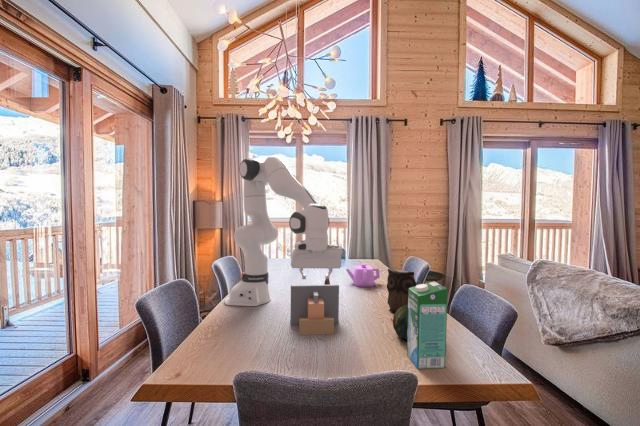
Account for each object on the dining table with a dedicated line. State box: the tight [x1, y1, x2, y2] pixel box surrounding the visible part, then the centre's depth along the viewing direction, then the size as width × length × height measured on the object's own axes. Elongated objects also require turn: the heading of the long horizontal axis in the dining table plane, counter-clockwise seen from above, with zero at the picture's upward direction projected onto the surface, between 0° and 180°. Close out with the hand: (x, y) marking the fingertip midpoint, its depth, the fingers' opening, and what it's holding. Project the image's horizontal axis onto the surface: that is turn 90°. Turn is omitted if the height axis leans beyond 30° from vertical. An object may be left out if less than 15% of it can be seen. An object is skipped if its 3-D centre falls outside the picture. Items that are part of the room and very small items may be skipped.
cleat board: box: [289, 284, 340, 336], centre depth 130 cm, size 20×16×16 cm
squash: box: [392, 305, 408, 340], centre depth 119 cm, size 14×15×15 cm
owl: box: [386, 268, 418, 315], centre depth 147 cm, size 13×13×20 cm
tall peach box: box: [308, 292, 324, 319], centre depth 128 cm, size 6×7×11 cm
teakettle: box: [345, 263, 381, 288], centre depth 198 cm, size 17×17×12 cm
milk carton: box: [406, 280, 449, 370], centre depth 102 cm, size 9×9×25 cm
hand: (315, 279), depth 127 cm, fingers open, 8 cm apart
